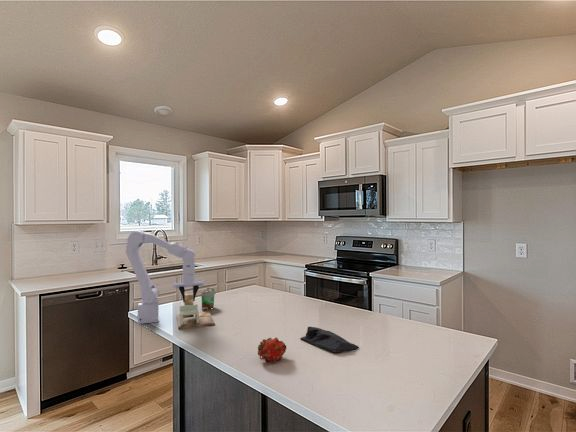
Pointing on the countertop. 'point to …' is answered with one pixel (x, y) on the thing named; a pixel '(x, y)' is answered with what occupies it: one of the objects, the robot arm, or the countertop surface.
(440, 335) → the countertop surface
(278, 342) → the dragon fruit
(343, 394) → the countertop surface
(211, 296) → the food container
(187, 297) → the maple block
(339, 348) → the charcoal beanbag
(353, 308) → the countertop surface
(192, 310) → the sliding cover
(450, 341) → the countertop surface
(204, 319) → the puzzle board
